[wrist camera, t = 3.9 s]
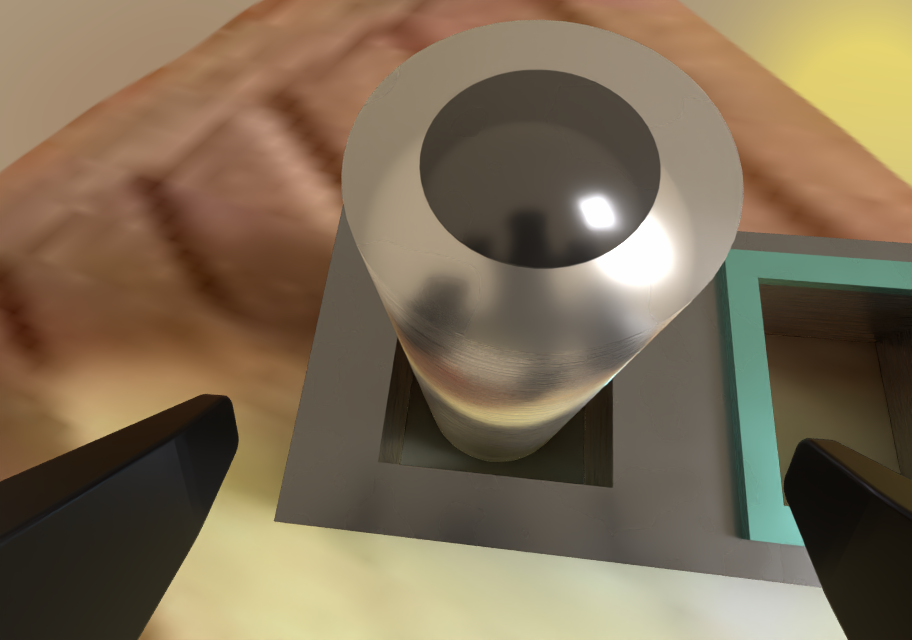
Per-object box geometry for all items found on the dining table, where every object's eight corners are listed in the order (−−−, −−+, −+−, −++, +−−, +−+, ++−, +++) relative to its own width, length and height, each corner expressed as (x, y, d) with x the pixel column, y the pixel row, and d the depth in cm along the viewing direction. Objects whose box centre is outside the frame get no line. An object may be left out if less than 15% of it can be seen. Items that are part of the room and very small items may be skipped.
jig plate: (318, 519, 17) (268, 521, 13) (367, 259, 21) (340, 196, 17) (1011, 601, 15) (1203, 634, 11) (937, 303, 19) (1064, 246, 15)
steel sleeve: (465, 486, 17) (440, 429, 5) (408, 361, 19) (287, 94, 7) (591, 424, 18) (837, 238, 6) (525, 307, 20) (606, -27, 7)
